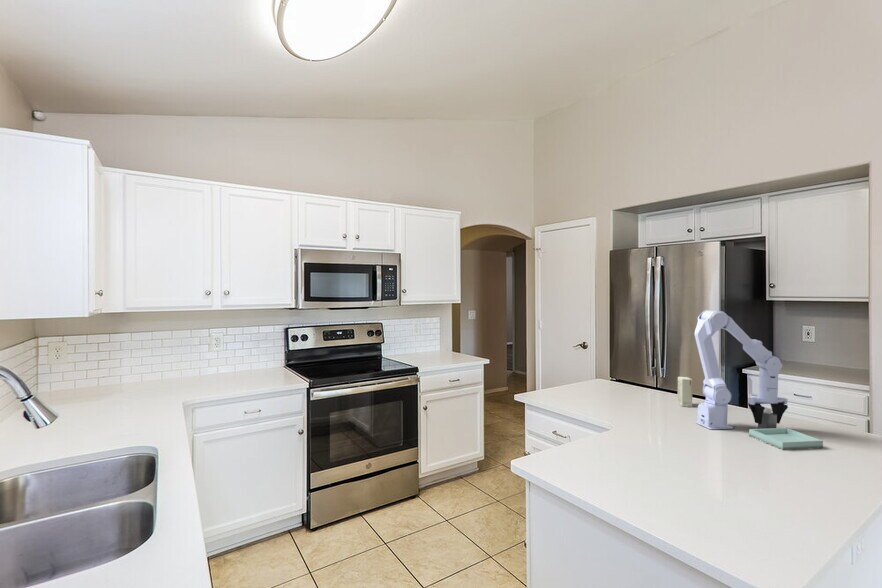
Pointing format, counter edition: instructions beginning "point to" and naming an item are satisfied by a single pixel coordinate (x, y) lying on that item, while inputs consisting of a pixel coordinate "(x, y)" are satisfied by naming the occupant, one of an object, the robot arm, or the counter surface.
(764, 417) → the grey rounded piece
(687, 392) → the skincare box
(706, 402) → the robot arm
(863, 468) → the counter surface
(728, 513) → the counter surface
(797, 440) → the sage tray
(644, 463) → the counter surface
